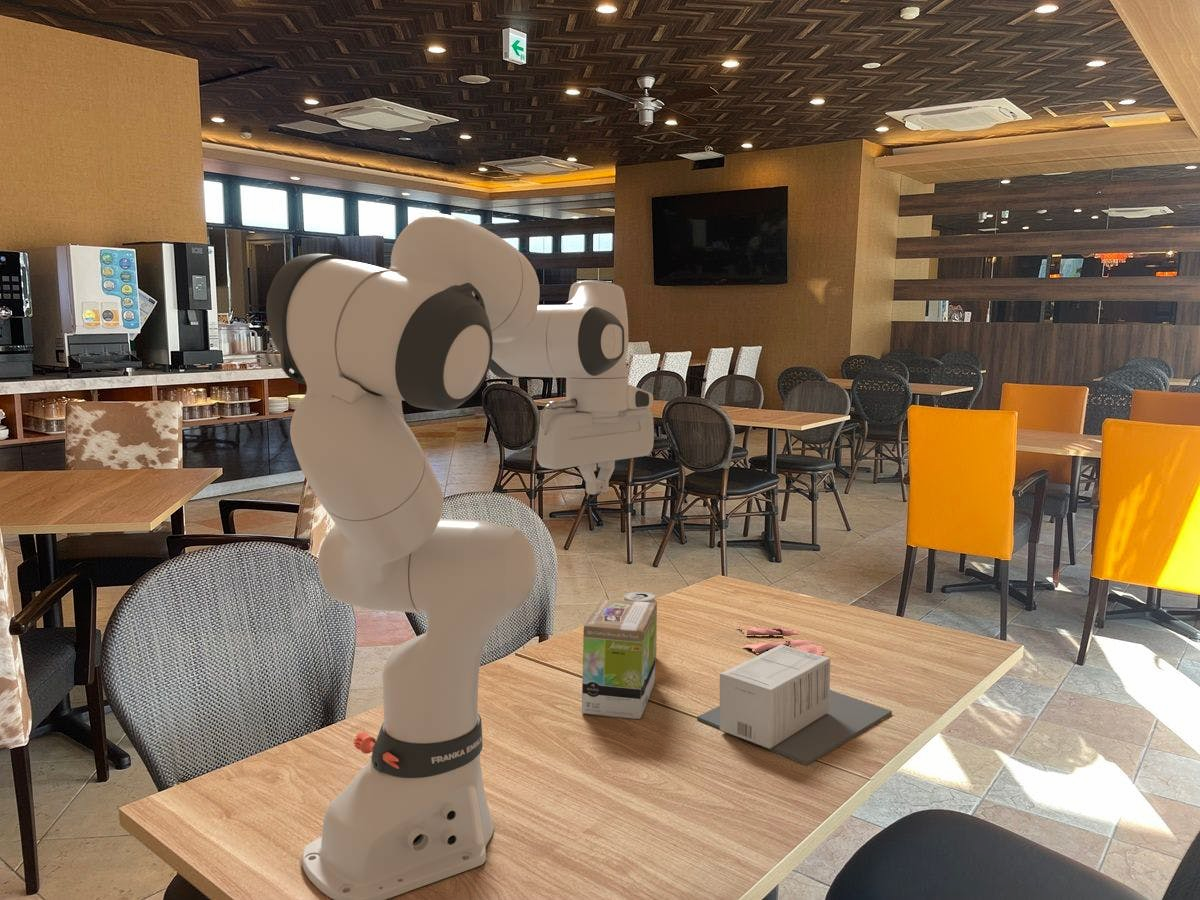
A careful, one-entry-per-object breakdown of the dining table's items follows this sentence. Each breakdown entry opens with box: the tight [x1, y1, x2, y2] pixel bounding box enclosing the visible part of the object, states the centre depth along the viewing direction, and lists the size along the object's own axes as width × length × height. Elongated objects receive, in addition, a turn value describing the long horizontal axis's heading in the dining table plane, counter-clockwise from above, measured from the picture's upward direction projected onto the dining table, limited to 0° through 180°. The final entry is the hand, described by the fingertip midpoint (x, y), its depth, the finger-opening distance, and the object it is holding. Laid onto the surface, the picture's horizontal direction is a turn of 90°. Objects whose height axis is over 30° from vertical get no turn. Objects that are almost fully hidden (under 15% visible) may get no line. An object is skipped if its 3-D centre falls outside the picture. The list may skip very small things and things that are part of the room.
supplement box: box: [719, 644, 831, 749], centre depth 137 cm, size 10×9×17 cm
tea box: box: [581, 598, 658, 720], centre depth 146 cm, size 15×10×15 cm
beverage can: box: [623, 591, 658, 651], centre depth 164 cm, size 6×6×12 cm
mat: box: [696, 689, 893, 766], centre depth 140 cm, size 24×20×1 cm
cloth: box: [739, 626, 825, 656], centre depth 174 cm, size 20×22×2 cm
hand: (597, 492), depth 128 cm, fingers closed
